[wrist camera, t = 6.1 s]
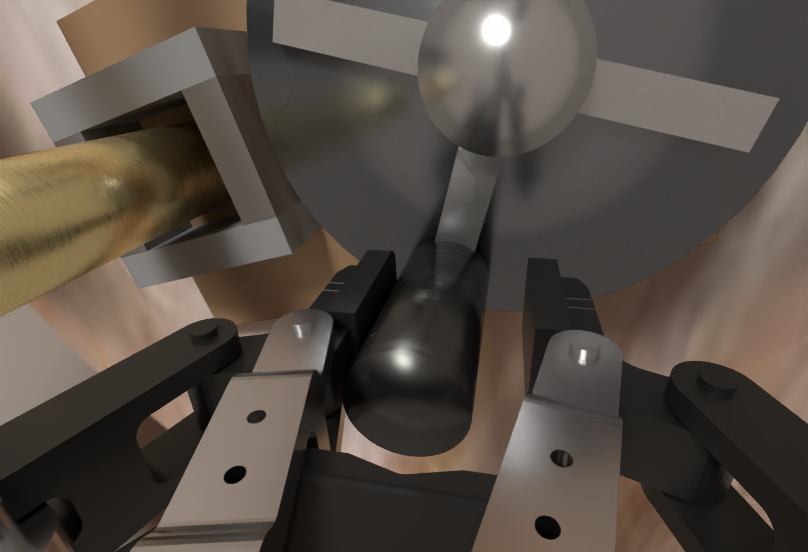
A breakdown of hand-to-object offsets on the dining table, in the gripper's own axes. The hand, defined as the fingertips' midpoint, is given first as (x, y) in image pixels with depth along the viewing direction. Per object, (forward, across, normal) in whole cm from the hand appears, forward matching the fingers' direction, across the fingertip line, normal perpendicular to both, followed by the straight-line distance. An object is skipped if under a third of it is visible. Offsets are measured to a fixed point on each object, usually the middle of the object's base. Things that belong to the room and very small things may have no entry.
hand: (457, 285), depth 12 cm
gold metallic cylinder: (+6, +12, -2) cm, 13 cm away
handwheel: (+3, -1, -5) cm, 6 cm away
